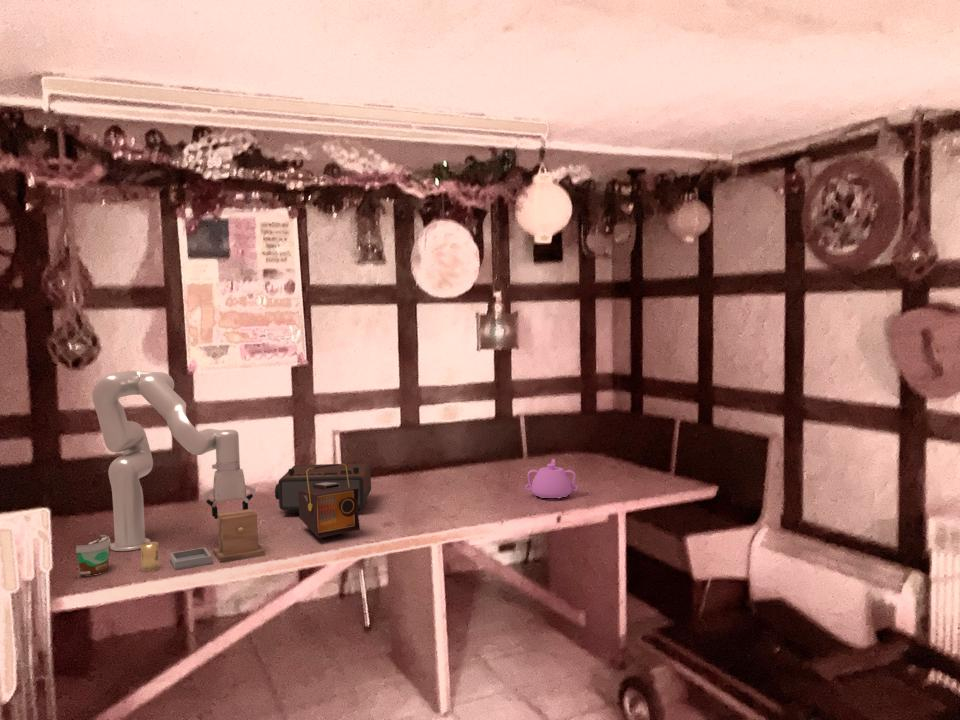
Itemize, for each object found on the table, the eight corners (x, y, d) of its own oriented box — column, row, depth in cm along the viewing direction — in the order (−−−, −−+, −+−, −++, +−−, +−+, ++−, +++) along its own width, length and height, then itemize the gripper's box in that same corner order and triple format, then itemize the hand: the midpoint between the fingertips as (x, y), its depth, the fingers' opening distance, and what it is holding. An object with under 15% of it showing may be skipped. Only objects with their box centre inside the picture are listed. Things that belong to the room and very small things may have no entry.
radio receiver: (273, 518, 300) (271, 472, 298) (288, 501, 326) (286, 459, 325) (364, 515, 301) (362, 470, 299) (371, 499, 327) (370, 456, 326)
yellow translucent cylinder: (141, 568, 243) (139, 543, 243) (158, 565, 246) (156, 540, 245) (142, 572, 239) (141, 547, 239) (160, 569, 242) (159, 544, 241)
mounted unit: (213, 552, 258) (211, 512, 257) (255, 545, 264) (254, 506, 263) (220, 562, 247) (218, 521, 246) (264, 555, 254) (263, 514, 253)
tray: (170, 560, 250) (169, 552, 250) (205, 554, 256) (205, 547, 256) (175, 570, 241) (174, 562, 241) (212, 563, 246) (211, 556, 246)
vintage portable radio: (319, 546, 262) (316, 473, 261) (292, 531, 281) (289, 463, 280) (362, 537, 272) (360, 466, 270) (333, 523, 291) (331, 457, 289)
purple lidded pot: (578, 489, 336) (578, 458, 335) (577, 502, 315) (577, 468, 314) (528, 488, 339) (527, 457, 338) (523, 501, 318) (523, 467, 317)
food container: (95, 579, 234) (93, 546, 234) (77, 578, 235) (75, 546, 235) (121, 565, 246) (119, 534, 246) (103, 565, 247) (102, 534, 247)
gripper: (203, 471, 256) (206, 522, 257) (256, 465, 264) (258, 514, 266) (199, 467, 263) (201, 517, 264) (251, 461, 271) (253, 509, 272)
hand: (230, 515), depth 265 cm, fingers open, 9 cm apart
